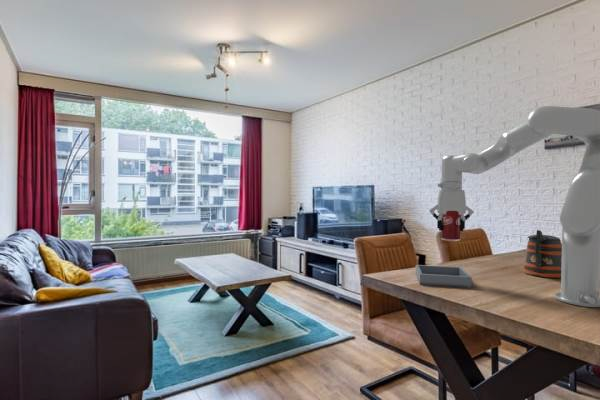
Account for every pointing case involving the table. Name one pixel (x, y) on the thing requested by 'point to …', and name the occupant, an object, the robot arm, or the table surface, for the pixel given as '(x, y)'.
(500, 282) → the table surface
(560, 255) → the beer stein
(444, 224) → the soda can
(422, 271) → the tray
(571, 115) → the robot arm
